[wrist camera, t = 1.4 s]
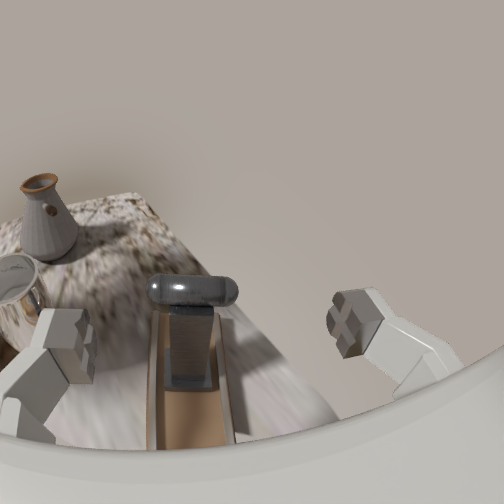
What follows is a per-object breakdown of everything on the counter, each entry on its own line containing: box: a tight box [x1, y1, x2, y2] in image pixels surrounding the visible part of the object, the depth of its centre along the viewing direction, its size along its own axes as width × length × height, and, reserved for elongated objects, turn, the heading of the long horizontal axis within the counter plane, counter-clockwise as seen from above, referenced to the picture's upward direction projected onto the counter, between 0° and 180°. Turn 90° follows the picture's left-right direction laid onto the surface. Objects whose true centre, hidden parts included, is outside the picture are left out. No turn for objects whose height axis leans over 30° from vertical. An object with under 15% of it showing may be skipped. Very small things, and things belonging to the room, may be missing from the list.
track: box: [146, 310, 236, 450], centre depth 29 cm, size 9×24×2 cm, turn 9°
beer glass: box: [0, 253, 54, 354], centre depth 24 cm, size 7×7×15 cm
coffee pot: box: [20, 173, 79, 261], centre depth 37 cm, size 21×12×15 cm, turn 45°
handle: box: [146, 273, 239, 392], centre depth 29 cm, size 7×12×14 cm, turn 9°
